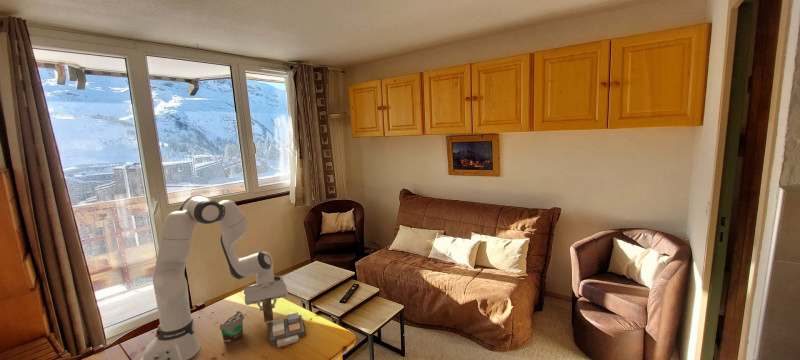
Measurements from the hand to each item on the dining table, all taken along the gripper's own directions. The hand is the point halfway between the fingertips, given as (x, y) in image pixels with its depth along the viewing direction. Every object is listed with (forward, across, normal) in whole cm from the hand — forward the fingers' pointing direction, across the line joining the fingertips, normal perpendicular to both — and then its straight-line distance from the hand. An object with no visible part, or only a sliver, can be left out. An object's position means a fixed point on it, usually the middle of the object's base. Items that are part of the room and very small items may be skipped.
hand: (267, 309), depth 162 cm
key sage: (+10, +4, 0) cm, 11 cm away
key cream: (+14, +4, -6) cm, 16 cm away
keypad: (+14, +8, -3) cm, 17 cm away
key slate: (+9, +11, -1) cm, 15 cm away
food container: (+10, -14, +2) cm, 17 cm away
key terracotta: (+15, +11, -5) cm, 20 cm away
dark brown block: (+4, 0, +5) cm, 6 cm away
